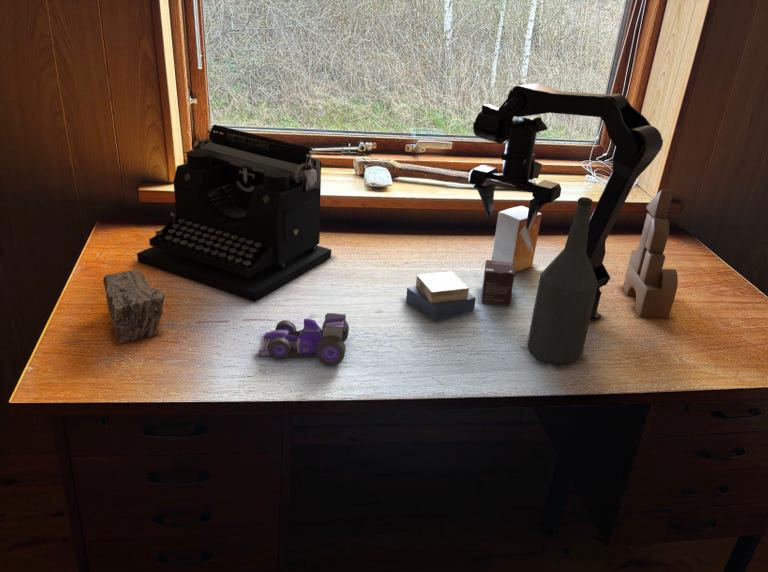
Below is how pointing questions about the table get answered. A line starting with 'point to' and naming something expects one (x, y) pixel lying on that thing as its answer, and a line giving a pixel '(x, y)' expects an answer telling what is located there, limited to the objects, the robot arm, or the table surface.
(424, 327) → the table surface
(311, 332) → the toy race car
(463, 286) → the stack top
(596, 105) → the robot arm
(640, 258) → the wooden toy
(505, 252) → the small box
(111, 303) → the stone block
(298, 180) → the typewriter
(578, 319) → the bottle
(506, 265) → the box
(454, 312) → the stack base
